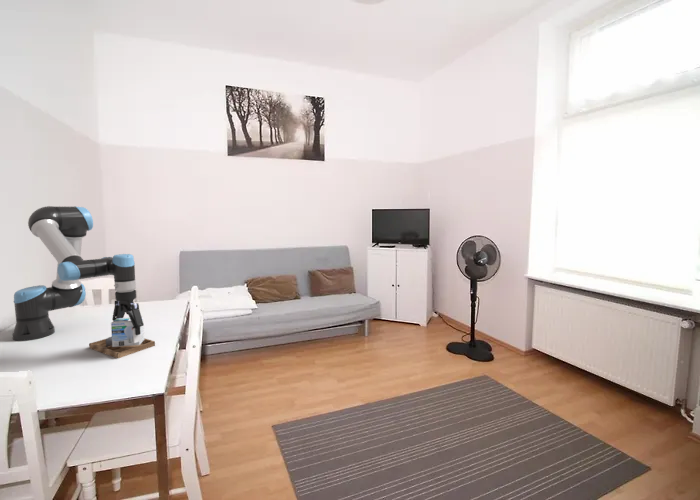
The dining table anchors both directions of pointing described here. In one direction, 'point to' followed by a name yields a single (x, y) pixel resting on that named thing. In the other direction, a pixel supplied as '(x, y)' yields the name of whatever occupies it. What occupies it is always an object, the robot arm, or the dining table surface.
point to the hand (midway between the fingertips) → (128, 339)
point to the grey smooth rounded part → (109, 341)
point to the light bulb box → (124, 332)
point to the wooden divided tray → (120, 348)
